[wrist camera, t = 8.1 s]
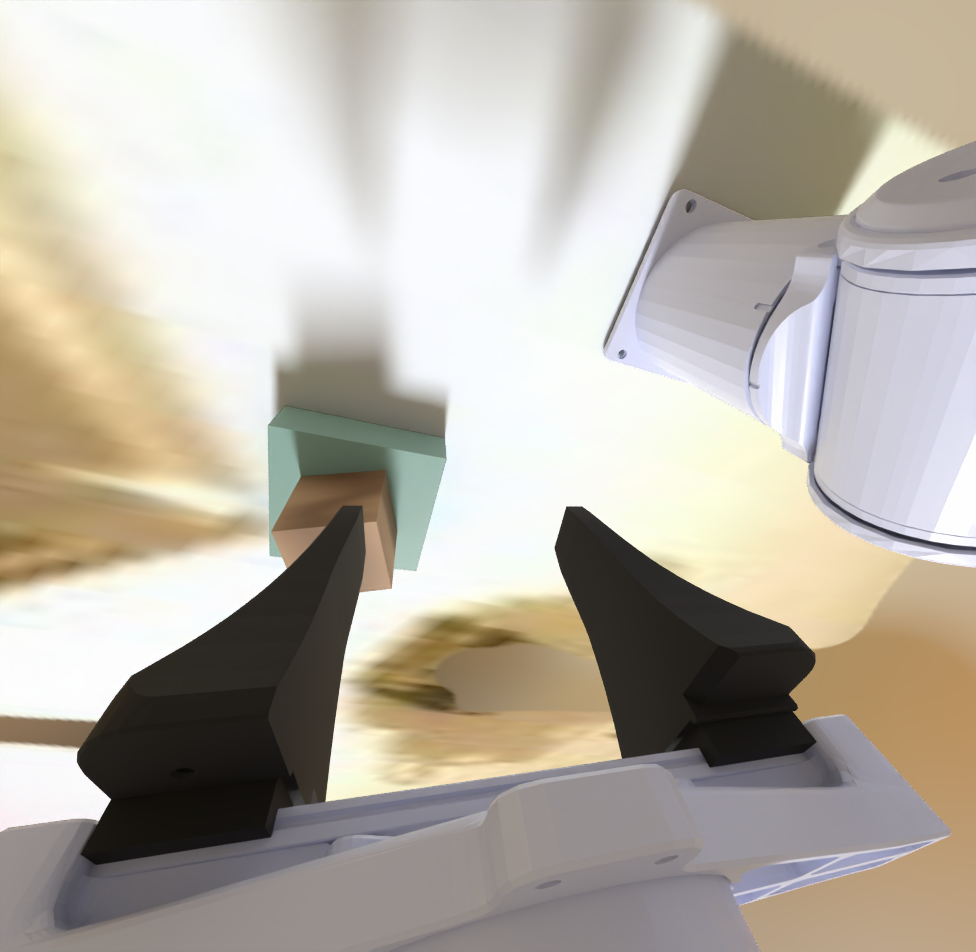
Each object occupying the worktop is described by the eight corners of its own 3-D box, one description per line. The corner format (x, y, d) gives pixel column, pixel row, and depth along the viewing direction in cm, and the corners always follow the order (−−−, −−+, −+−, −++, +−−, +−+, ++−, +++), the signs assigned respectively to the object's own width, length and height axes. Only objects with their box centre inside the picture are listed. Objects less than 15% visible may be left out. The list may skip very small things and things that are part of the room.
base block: (444, 434, 23) (446, 459, 20) (417, 540, 27) (416, 570, 25) (287, 402, 20) (267, 425, 18) (285, 524, 25) (269, 556, 22)
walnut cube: (385, 469, 20) (376, 521, 16) (397, 531, 23) (391, 588, 19) (300, 476, 20) (270, 531, 16) (322, 538, 22) (300, 599, 18)
